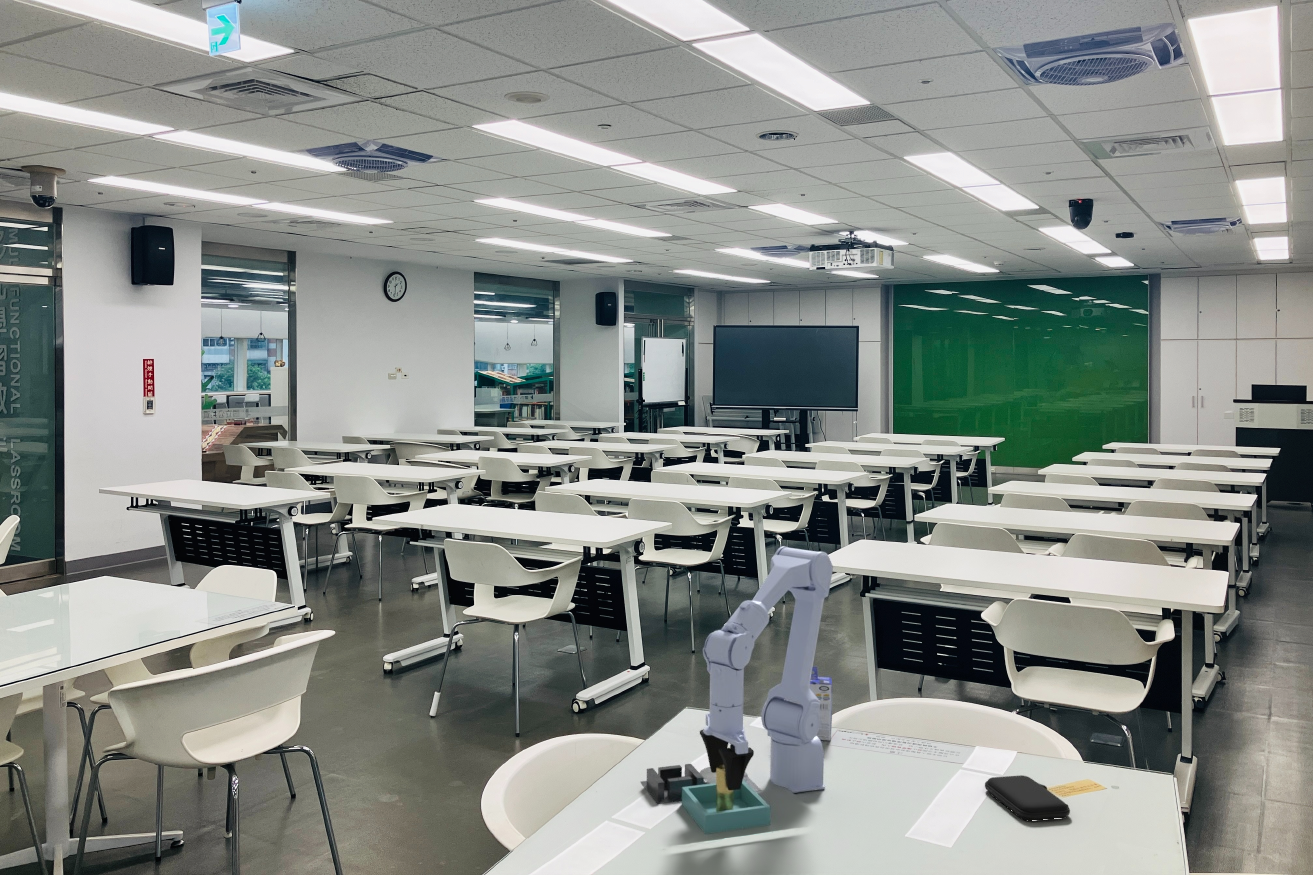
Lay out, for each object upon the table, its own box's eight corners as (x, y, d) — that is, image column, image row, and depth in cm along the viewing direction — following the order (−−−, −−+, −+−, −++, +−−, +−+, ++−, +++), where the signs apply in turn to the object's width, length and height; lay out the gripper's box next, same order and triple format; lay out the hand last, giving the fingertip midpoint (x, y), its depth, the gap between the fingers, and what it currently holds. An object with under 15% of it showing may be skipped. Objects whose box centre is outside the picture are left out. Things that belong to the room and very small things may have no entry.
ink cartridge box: (830, 732, 207) (832, 665, 206) (832, 741, 201) (833, 673, 201) (784, 729, 208) (785, 663, 207) (784, 738, 203) (785, 671, 202)
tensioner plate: (740, 774, 184) (740, 753, 184) (761, 795, 174) (761, 774, 174) (640, 786, 178) (640, 765, 177) (656, 809, 168) (657, 787, 168)
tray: (742, 801, 172) (743, 779, 172) (770, 829, 161) (770, 806, 161) (681, 809, 168) (682, 787, 168) (705, 839, 157) (705, 815, 157)
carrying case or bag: (1080, 821, 166) (1032, 786, 180) (1081, 804, 166) (1033, 770, 180) (1024, 826, 164) (980, 790, 178) (1024, 808, 164) (980, 774, 178)
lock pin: (730, 809, 166) (730, 764, 166) (735, 816, 163) (736, 770, 163) (713, 811, 165) (714, 765, 165) (719, 818, 162) (719, 772, 162)
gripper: (689, 690, 169) (689, 766, 170) (720, 718, 155) (719, 800, 156) (727, 687, 171) (726, 761, 172) (760, 713, 157) (759, 794, 158)
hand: (725, 779), depth 164 cm, fingers open, 7 cm apart
